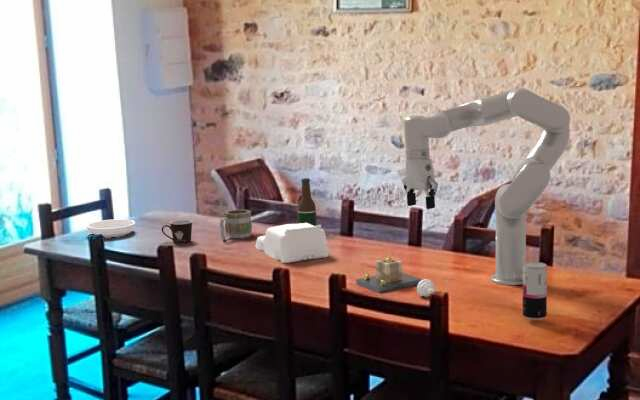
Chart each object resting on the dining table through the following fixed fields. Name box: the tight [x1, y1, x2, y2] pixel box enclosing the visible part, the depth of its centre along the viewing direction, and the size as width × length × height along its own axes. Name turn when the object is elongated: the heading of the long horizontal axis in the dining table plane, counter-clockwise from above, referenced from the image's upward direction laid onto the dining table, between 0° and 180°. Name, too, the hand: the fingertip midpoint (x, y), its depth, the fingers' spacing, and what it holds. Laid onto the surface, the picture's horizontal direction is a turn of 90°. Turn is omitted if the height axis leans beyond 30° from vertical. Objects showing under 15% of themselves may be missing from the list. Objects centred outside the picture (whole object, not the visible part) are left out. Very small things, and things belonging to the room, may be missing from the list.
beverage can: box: [522, 261, 548, 320], centre depth 255 cm, size 6×6×15 cm
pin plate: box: [355, 257, 423, 293], centre depth 294 cm, size 13×17×9 cm
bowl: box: [86, 218, 136, 239], centre depth 375 cm, size 20×20×7 cm
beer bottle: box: [297, 177, 317, 226], centre depth 369 cm, size 8×8×24 cm
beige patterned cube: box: [375, 258, 403, 283], centre depth 294 cm, size 6×6×6 cm
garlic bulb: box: [416, 278, 436, 298], centre depth 278 cm, size 6×6×5 cm
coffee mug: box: [161, 219, 193, 244], centre depth 360 cm, size 12×9×10 cm
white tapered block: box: [254, 223, 330, 264], centre depth 338 cm, size 19×30×13 cm, turn 25°
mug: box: [219, 209, 253, 241], centre depth 364 cm, size 16×11×12 cm
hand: (421, 206), depth 294 cm, fingers open, 9 cm apart
